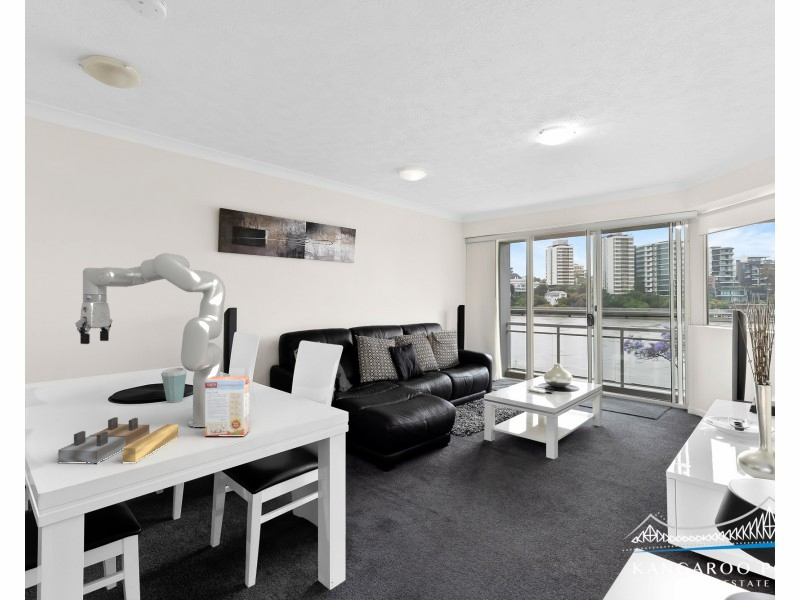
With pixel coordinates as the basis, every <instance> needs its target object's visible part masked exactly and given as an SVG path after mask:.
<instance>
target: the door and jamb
mask: <svg viewBox="0 0 800 600" xmlns="http://www.w3.org/2000/svg"><path fill="white" fill-rule="evenodd" d="M150 426H151V425H150V424H141V423H140V424H139V417H133V418H130V419H129V420H128V423H119V418H118V416H117V417H112V418H109V419H108V420H107V428H104V429H102V430H99V431H97V432H95V433H93V434H89V436H87V437H86V430H81V431H78V432H76V433H74V434H73V443H71V444H69V445H67V446H64V447H62V448H59V449H58V451H57V455H58V457H57V460H58V461H57V463H58V462H86V463H88V462H90V463H98V462H99V461H101V460H103V459H105V458H107V457H109V456H111V455H113V454H115V453H117V452H119V451H120V450H122V449H123V447H125V446H127V445H129V444H131V443H133V442H135V441H137V440H138V439H140V438H142V437H144V436H146V435H148V434H150ZM119 453H120V452H119ZM117 454H118V453H117ZM115 455H116V454H115ZM113 456H114V455H113Z"/></svg>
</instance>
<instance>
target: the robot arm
mask: <svg viewBox="0 0 800 600" xmlns="http://www.w3.org/2000/svg"><path fill="white" fill-rule="evenodd" d="M161 280H166V281H168V283H171V284H172V285H174V286H175V287H177V288H178V289H180V290H181V291H184V292H187V293H202V294H203V296H202V299H201V300H200V305H199V314H198V316H196V317H193V318H191V319H189V320H188V321H187V322H186V324H185V326H184V328H183V332H182V333H183V334H182V341H181V350H180V362H181V364H182V368H185V369H186V371H187V372H193V379H192V419H190V420H189V421H188V427H190V426H193V427H192V428H194V427H205V380H206V379H208V378H210V377H221V367H222V363H223V351H222V349H221V347H220V346H219V345H218V344H216V343H214V342H210V341H211V340H215V339H216V338H218V337H219V336H220V335H221V334H222V333H221V332H222V328H223V318H224V308H225V307H224V306H225V300H226V286H225V283H224V281H223V280H222V278H220V276H218V275H217V274H215V273H213V272H210V271H208V270H207V271H206V270H197V269H193V268H190V262H189V260H188V259H187V258H186V257H185V256H183V255H180V254H175V253H167V252H163V253H159V254H158V255H156V256H155V257H154V258H152V259H151V258H150V259H145V260H143V261H142V262H141V263H140V266H135V267H127V268H122V267H111V266H110V267H108V266H106V267H85V268H84V269H83V270H82V304H81V309H80V319H79V320H78V321H76V322H75V327H76V330H77V331H78V333H79V336H80V337H79V338H80V340H79V341H80V345H89V344H91V341H90V340H91V338H90V337H91V336H90V335H91V334H90V333H89V332H90V331H91V329H100V331H99V341H100V342H108V341H109V340H110V339H109V336H110V334H109V333H110V330H111V327H112V324H113V319H112V318H111V313H110V307H109V302H108V300H107V299H108V298H107V296H108V295H107V288H108V287H114V288H116V287H117V288H118V287H119V288H120V287H122V288H128V287H134V286H140V285H144V284H147V283H151V282H156V281H161Z"/></svg>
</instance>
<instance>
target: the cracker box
mask: <svg viewBox="0 0 800 600" xmlns="http://www.w3.org/2000/svg"><path fill="white" fill-rule="evenodd" d="M248 431H249V432H250V376H220V377H210V378H208V379H206V380H205V428H204V436H219V435H245V434H246V433H247V432H248ZM249 432H248V433H249ZM248 433H247V434H248ZM247 434H246V435H247ZM246 435H245V436H246Z"/></svg>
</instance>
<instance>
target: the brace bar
mask: <svg viewBox="0 0 800 600" xmlns="http://www.w3.org/2000/svg"><path fill="white" fill-rule="evenodd" d="M176 437H178V438H179V423H178V424H177V423H171V424H169V423H166V424H165V425H163V426H161V427H159V428H158V429H155V430H153V431H151V432H149V434H148V435H146V436H144V437H142V438H140V439H138V440H137V441H135V442H133V443H131V444H129V445H127V446H125V447H123V451H122V463H123V462H137V461H138V460H140V459H141V458H143V457H145V456H146V455H148V454H150V453H152V452H153V451H155V450H156V449H158V448H160V447H161V446H163V445H165V444H166V443H168V442H170V441H171V440H173V439H175V438H176ZM175 440H176V439H175ZM170 443H171V442H170ZM165 446H166V445H165ZM152 454H153V453H152Z"/></svg>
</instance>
